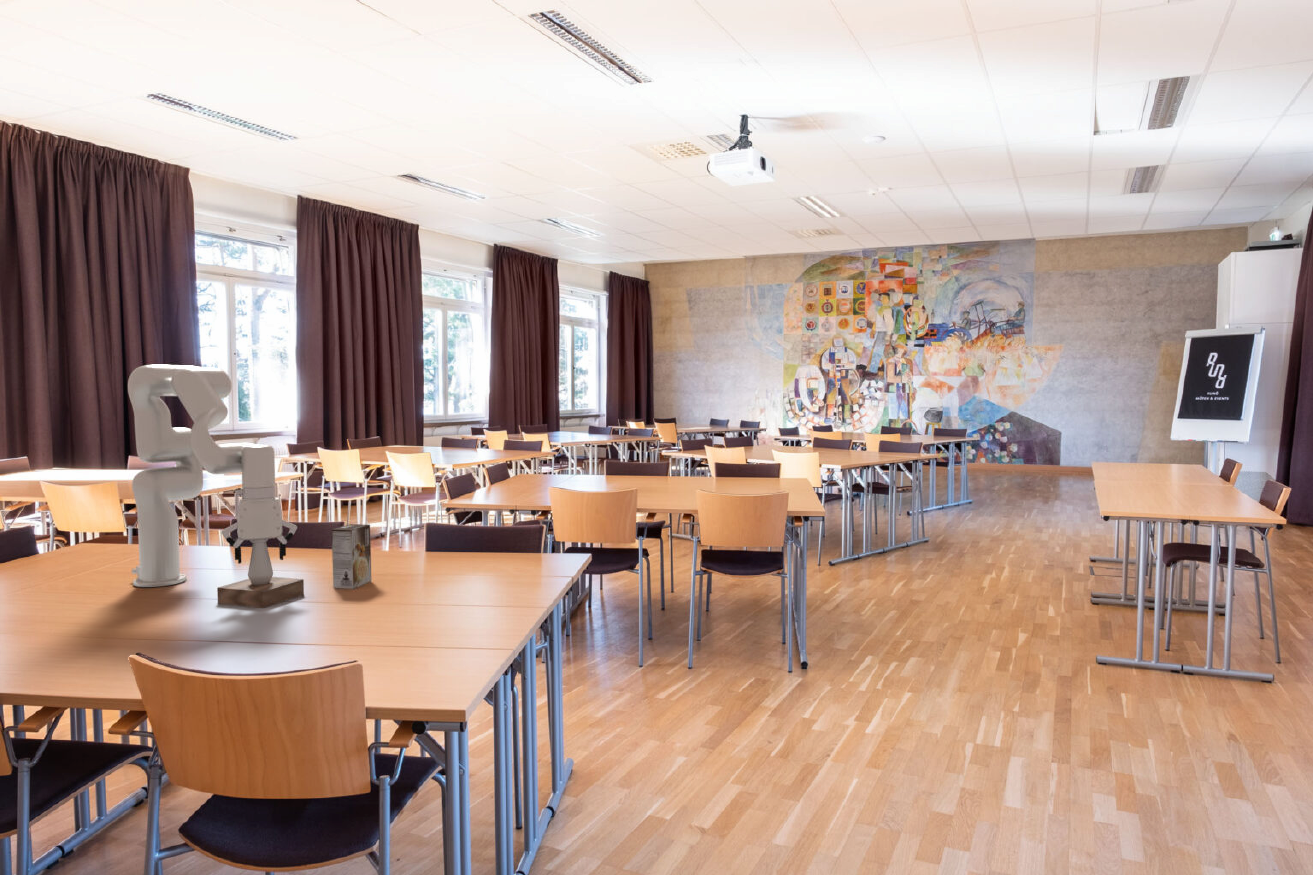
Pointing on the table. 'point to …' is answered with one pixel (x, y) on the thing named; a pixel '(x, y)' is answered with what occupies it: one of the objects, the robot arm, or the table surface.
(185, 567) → the table surface
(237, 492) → the robot arm
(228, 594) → the walnut base
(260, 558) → the salt shaker
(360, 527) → the coffee box
